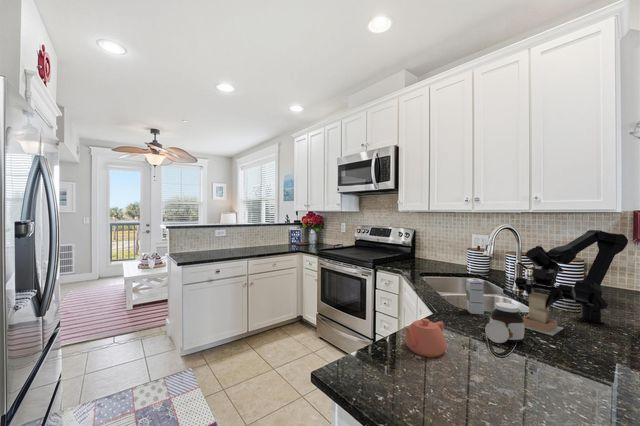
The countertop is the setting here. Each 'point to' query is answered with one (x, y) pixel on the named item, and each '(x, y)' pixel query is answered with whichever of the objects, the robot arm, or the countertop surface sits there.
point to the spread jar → (505, 324)
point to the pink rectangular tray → (542, 326)
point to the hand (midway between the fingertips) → (537, 305)
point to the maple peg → (538, 308)
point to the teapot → (426, 338)
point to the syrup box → (474, 296)
